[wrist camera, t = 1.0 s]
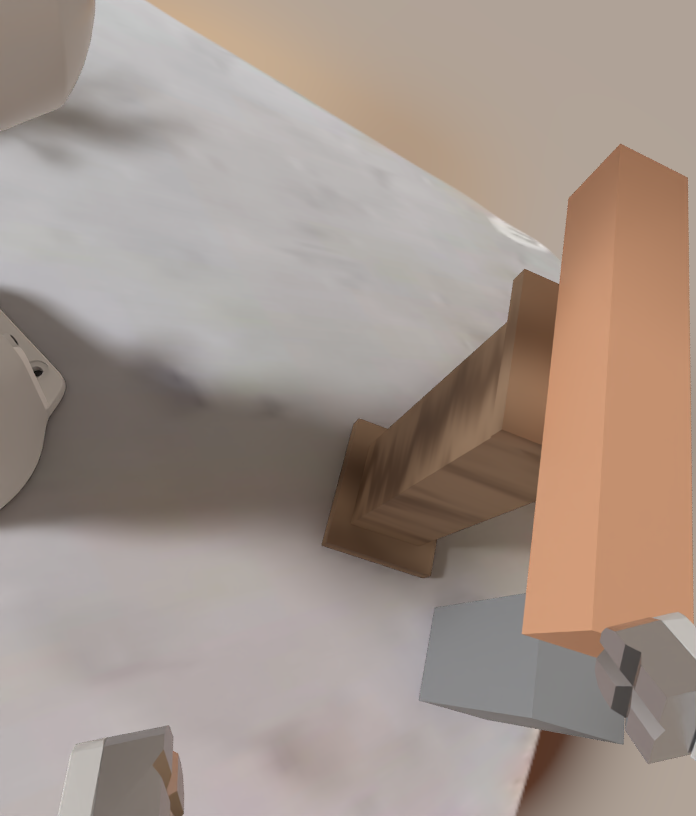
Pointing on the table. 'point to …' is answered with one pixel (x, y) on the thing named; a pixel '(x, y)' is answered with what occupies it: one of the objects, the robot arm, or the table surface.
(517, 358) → the walnut tower
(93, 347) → the table surface
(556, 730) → the slate pillar
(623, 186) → the terracotta beam
